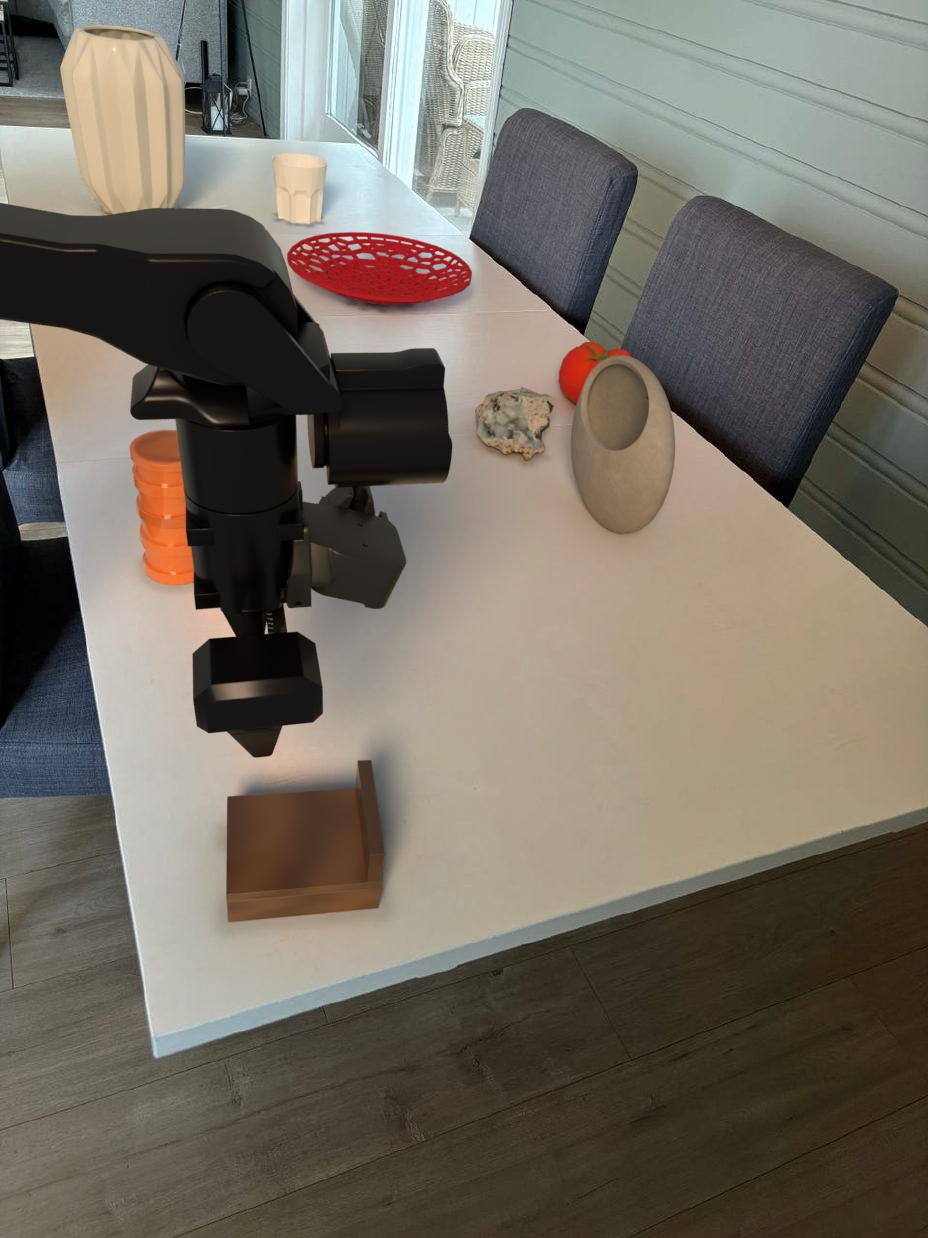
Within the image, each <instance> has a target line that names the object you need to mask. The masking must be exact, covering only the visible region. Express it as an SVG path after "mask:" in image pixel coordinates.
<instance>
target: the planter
mask: <svg viewBox="0 0 928 1238" xmlns="http://www.w3.org/2000/svg"><path fill="white" fill-rule="evenodd" d="M570 455H571V456H570V457H571V464H572V471H573V475H574V480H575V483H576V486H577V489H578V493H579V495H580V496H581V499H582V501H583V503H584V505H585V507H586V509H588V511H589V513H590V515H592V517H593V518H594V519H595V520H596V521H597V522H598V523H599V524H600V525H601V526H603V527H604V528H605V529H608V530H609V531H610V532H614V533H618V534H623V535H625V534H633V533H636V532H639V531H641V530H642V529H644V528H646V527H647V526H648V525H650V524H651V523H652V521H653V520H654V519H655V518H656V517H657V515H658V514H659V512H660V510H661V509H662V507H663V505H664V502H665V501H666V499H667V496H668V493H669V490H670V486H671V484H672V479H673V473H674V468H675V458H676V433H675V423H674V418H673V414H672V409H671V406H670V402H669V399H668V397H667V394H666V392H665V390H664V388H663V386H662V384H661V381H660V380H659V379H658V378H657V376H656V375H655V374H654V372H653V371H652V370H651V369H650V368H649V367H648V366H647V365H646V364H644V363H643V362H642V361H640V360H639V359H636V358H635V357H632V356H631V357H629V356H624V355H616V356H611V357H608V358H606V359H604V360H603V361H601V362H600V363H598V364H597V365H596V366H595V367H594V368H593V369H592V371H591V372H590V374H589V375H588V377H587V379H586V381H585V383H584V385H583V387H582V390H581V393H580V395H579V398H578V402H577V404H576V406H575V410H574V413H573V418H572V423H571V436H570Z"/></svg>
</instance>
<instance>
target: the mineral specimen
mask: <svg viewBox="0 0 928 1238" xmlns="http://www.w3.org/2000/svg"><path fill="white" fill-rule="evenodd" d="M555 407H556V403H555V398H554V396H552V395H550V394H547V393H538V392H536V391H533V390H531V389H529V388H527V387H523V386H521V387H520V388H517V389H511V390H498V391H495V392H491V393H488V394H486V395H485V397H484V400H483V403H480V404H479V405H478V406H477V407H476V408H475V409H474V413H475V414H476V415H475V417H474V420H475V421H476V429H477V430H476V433H477V435H478V437H479V438H480V441H481V442H482V443H483V444H484V445H486V446H487V447H493V448H494V449H497V450H499V452H501V453H502V454H503V455H507V454H512V453H513V452H516V453H521V454H522V457H523V459H524V461H530V459H532V457H533V456H534V455H535V454H541V453H544V451H545V450H546V445H545V443H544V442H543V439H542V438H543V433H544V432H545V431H546V430H547V429H548V428H550V426H551V419H550V415H551V413H552V412H553V411H554V408H555Z"/></svg>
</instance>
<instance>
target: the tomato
mask: <svg viewBox="0 0 928 1238" xmlns="http://www.w3.org/2000/svg"><path fill="white" fill-rule="evenodd" d="M616 355H624V356H629V357H632V355H631V354H630V352H628V351H627V350H626V349H622V348H614V349H610V350H609V349H607V350H606V348H604V347H603V346H602V345H601V344H600V343H598V342H595V341H585V342H583V343H582V342H581V344H580V345H579V346H575V347H574V348H572V349H570V350H569V351H568V352H567V353H566V355H565V356H564V358H563V359H562V361H561V364H560V367H559V372H558V384H559V388H560V391H561V392H562V394H563V396H565V397H566V398H567V399H569V400H570V402H571V401H572V402H573V403H575V404H576V405H577V402H578V398H579V395H580V393H581V390H582V387H583V385H584V383H585V381H586V379H587V377H588V375H589V374H590V372H591V371H592V369H593V368H594V367H595V366H596V365H597V364H598V363H600V362H601V361H603V360H604V359H606V358H608V357H611V356H616Z"/></svg>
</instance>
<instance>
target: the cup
mask: <svg viewBox="0 0 928 1238" xmlns="http://www.w3.org/2000/svg"><path fill="white" fill-rule="evenodd" d="M271 163H272V164H271V166H272V174H273V182H274V186H275V199H276V213H277V218H278V219H281V220H285V221H287V222H290V224H296V223H297V224H307V225H310V224H311V223H315V222H321V221H322V210H323V199H324V192H325V191H324V190H325V185H326V176H327V169H328V168H327V167H328V162H327V160H325V159H323V158H321V157H319V156H316V155H312V154H307V153H300V152H280V153H276V154H274V155H272V156H271Z"/></svg>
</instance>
